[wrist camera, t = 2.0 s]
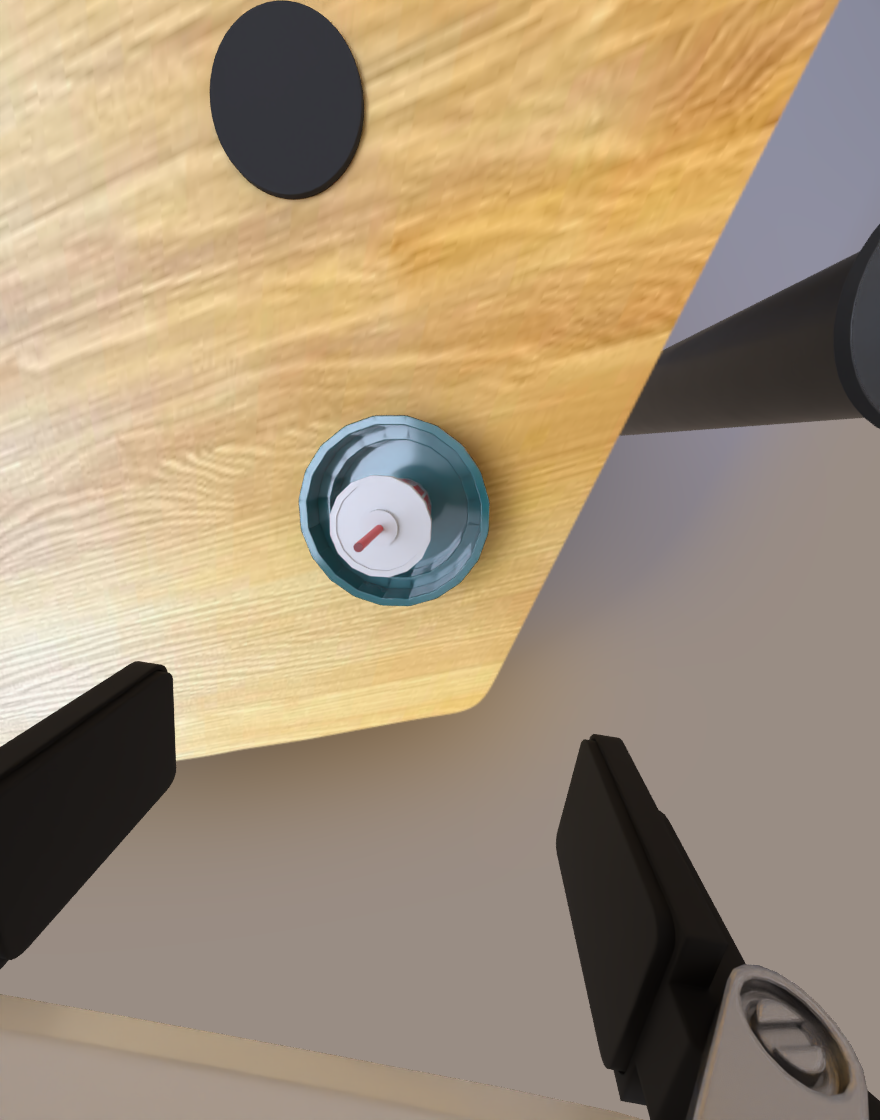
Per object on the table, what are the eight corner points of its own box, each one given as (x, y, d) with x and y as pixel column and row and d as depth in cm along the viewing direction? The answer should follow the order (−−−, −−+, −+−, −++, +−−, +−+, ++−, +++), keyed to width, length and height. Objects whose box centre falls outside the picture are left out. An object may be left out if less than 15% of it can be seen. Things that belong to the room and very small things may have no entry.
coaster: (360, 4, 26) (357, -7, 25) (367, 196, 29) (365, 191, 28) (204, 15, 27) (198, 5, 26) (225, 202, 29) (220, 197, 29)
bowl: (488, 419, 32) (492, 414, 27) (484, 586, 35) (486, 608, 30) (317, 420, 33) (290, 415, 28) (328, 582, 36) (307, 603, 31)
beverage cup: (350, 493, 34) (269, 524, 20) (415, 452, 32) (376, 456, 19) (391, 558, 35) (341, 628, 21) (455, 520, 34) (446, 570, 20)
